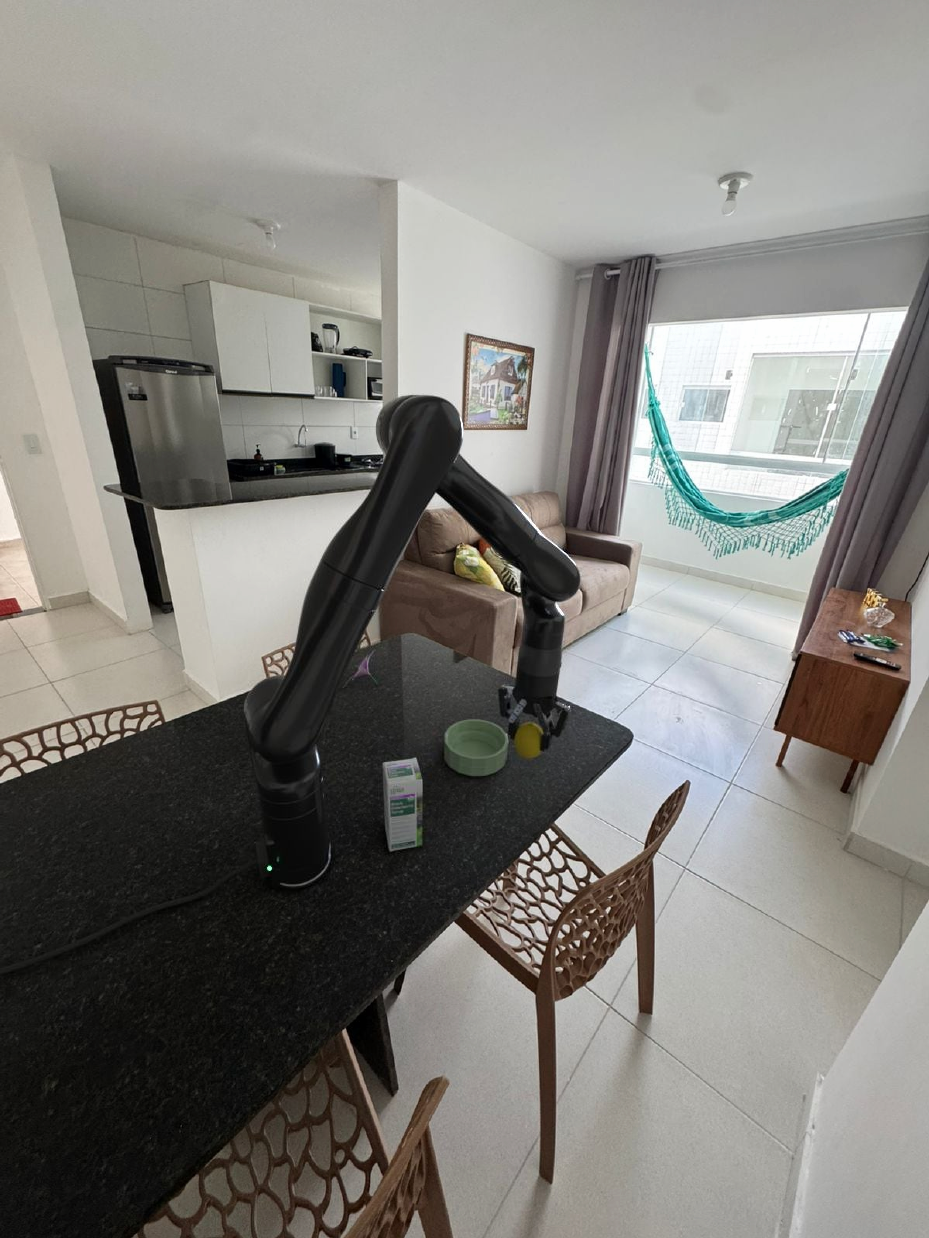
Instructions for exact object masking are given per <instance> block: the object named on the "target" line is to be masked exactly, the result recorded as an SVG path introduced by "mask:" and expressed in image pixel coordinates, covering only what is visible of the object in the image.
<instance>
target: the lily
mask: <svg viewBox="0 0 929 1238" xmlns="http://www.w3.org/2000/svg"><path fill="white" fill-rule="evenodd" d="M374 652H375V650H373V651H372V652H371V654H369V655H368V654H367V655H366V656H365V657H364V658H363V659H362V661H361V662H360V663H359V665H358V664H357V663H356V664H354V666H355V667H356V668H358V669H357V672H356V673H355V674H353V675H352V676H350V678H349V679H348V680H347V681H346V683H345V684H344V686H343V687H342V688H343V689H344V687H345V686H347V684H348V683H349V681H350V680H352V681H353V680H354V679H355V678H356V677H360V676H365V675H367V676H369V677H370V678H371V679H372V680H373V682H374V683H375V684H376V686H379V684H378V682H377V680H376V679H375V678H374V677H373V675H371V673H370V672H369V660H370V658H371V656H372V655H373V653H374Z"/></svg>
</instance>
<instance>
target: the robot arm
mask: <svg viewBox="0 0 929 1238" xmlns="http://www.w3.org/2000/svg"><path fill="white" fill-rule="evenodd" d="M375 436H376V441H377V444H378V446H379V448H380V450H381V452H382V453H383V455H384V458H383V461H382V464H381V466H380V469H379V470H378V473H377V475H376V478H375V480H374V482H373V484H372V487H371V489H370V491H369V492H368V494H367V496H366V497H365V498H364V500H363V501H362V502H361V504H360V505H359V506H358V507H357V509H356V510H355V511H354V512H353V513H352V514H351V515H350V517H349V518H348V519H347V520H346V521H345V523H343V525H341V527H340V528H339V530H338V531H337V532H336V533H335V535H334V536H333V537H332V539H331V540H330V541H329V543H328V545H327V546H326V548H325V550H324V552H323V554H322V555H321V557H320V559H319V561H318V565H317V566H316V568H315V570H314V573H313V575H312V576H311V579H310V581H309V584H308V586H307V589H306V592H305V595H304V598H303V603H302V606H301V610H300V615H299V621H298V625H297V626H298V628H297V633H296V638H295V645H294V649H293V653H292V656H291V659H290V662H289V665H288V668H287V670H286V672H285V674H277V675H271V676H268V677H266V678H263V679H262V680H260V681H259V682H257V683H256V684H255V685H254V686H253V687H252V688H251V689H250V691H249V692H248V694H247V696H246V697H245V700H244V705H243V719H244V725H245V731H246V736H247V741H248V747H249V754H250V761H251V766H252V770H253V775H254V780H255V785H256V790H257V796H258V803H259V809H260V815H261V823H262V830H263V838H264V839H263V840H261V841H257V842H255V850H256V858H254V859H253V860H251V861H250V860H249V862H247V863H244V864H243V865H240V866H239V867H237V868H235V869H233V870H231V871H229V872H228V873H226V874H225V875H223V876H222V877H221V878H219V879H218V880H217V881H216V882H215V883H213V885H211V886H209V887H207V888H206V889H203V890H201V891H199V892H196V893H193V894H191V895H187V896H184V897H180V898H176V899H173V900H169V901H165V902H162V903H158V904H156V905H152V906H149V907H148V908H147V907H146V908H145V909H142V910H140V911H137V912H135V913H133V914H130V915H128V916H125V918H122V919H120V920H117V921H116V922H114V923H112V924H110V925H108V926H106V927H104V928H102V929H100V930H98V931H96V932H93V933H92V934H89V935H87V936H85V937H83V938H81V939H78V940H76V941H73V942H71V943H69V944H66V945H63V946H61V947H58V948H56V949H54V950H51V951H48V952H46V953H43V954H40V955H38V956H35V957H32V958H29V959H26V960H23V961H20V962H17V963H13V964H10V965H6V966H3V967H0V976H2V975H5V974H8V973H12V972H15V971H18V970H21V969H24V968H27V967H30V966H33V965H36V964H38V963H41V962H44V961H47V960H49V959H52V958H55V957H57V956H59V955H63V954H64V953H67V952H69V951H73V950H75V949H76V948H79V947H81V946H84V945H86V944H88V943H90V942H92V941H94V940H97V939H99V938H101V937H103V936H105V935H107V934H109V933H111V932H113V931H115V930H117V929H119V928H121V927H123V926H124V925H127V924H129V923H131V922H133V921H135V920H137V919H140V918H142V917H145V916H147V915H149V914H152V913H155V912H159V911H161V910H164V909H168V908H172V907H175V906H179V905H183V904H186V903H190V902H192V901H195V900H199V899H200V898H203V897H205V896H207V895H210V894H211V893H213V892H215V891H216V890H217V889H219V888H220V887H221V886H222V885H223V884H225V883H226V882H227V881H229V880H230V879H232V878H233V877H235V876H236V875H238V874H240V873H242V872H245V871H246V870H248V869H250V868H252V867H255V866H256V865H258V866H257V867H258V870H259V876H260V877H259V878H260V879H264V878H266V877H270V881H271V887H272V890H277V889H283V890H289V891H297V890H302V889H305V888H308V887H310V886H313V885H314V884H316V883H317V882H319V881H320V880H321V879H322V878H323V877H324V876H325V875H326V874H327V872H328V871H329V868H330V865H331V862H332V861H331V848H332V847H331V845H330V842H329V833H328V832H329V831H328V821H327V820H328V818H327V809H326V798H325V786H324V785H325V784H324V775H323V764H322V760H321V755H320V751H319V747H318V741H319V739H320V737H321V735H322V733H323V732H324V729H325V726H326V723H327V721H328V718H329V715H330V712H331V710H332V706H333V704H334V701H335V698H336V696H337V693H338V690H339V687H340V686H341V683H342V680H343V678H344V675H345V673H346V672H347V669H348V667H349V665H350V663H351V661H352V659H353V657H354V655H355V653H356V652H357V649H358V647H359V645H360V643H361V641H362V638H363V637H364V634H365V633H366V631H367V628H368V626H369V624H370V622H371V621H372V619H373V617H374V615H375V614H376V612H377V610H378V608H379V606H380V604H381V602H382V599H383V598H384V595H385V593H386V591H387V589H388V587H389V585H390V583H391V580H392V578H393V576H394V574H395V571H396V570H397V567H398V566H399V563H400V561H401V559H402V557H403V555H404V553H405V551H406V549H407V548H408V545H409V544H410V541H411V538H412V537H413V534H414V532H415V530H416V528H417V526H418V524H419V522H420V520H421V518H422V516H423V515H424V513H425V511H426V510H427V508H428V506H429V504H430V503H431V501H432V500H433V498H434V497H435V495H436V494H437V495H438V496H439V497H440V498H441V499H442V500H444V502H446V503H447V504H448V505H449V506H450V507H451V508H452V509H453V510H454V511H455V512H456V513H457V514H458V515H459V516H460V517H461V518H462V519H463V520H465V522H466V523H467V524H468V525H469V526H470V527H471V528H472V529H473V530H474V531H475V532H476V533H477V534H478V535H479V536H480V537H481V538H482V539H483V540H484V541H485V542H486V543H487V544H488V545H489V546H490V548H491V549H493V550H494V552H495V553H496V554H497V555H499V557H500V558H502V559H503V560H504V561H505V562H506V563H507V564H509V565H510V566H512V567H513V568H515V569H516V570H518V571H519V590H520V598H521V607H522V612H523V621H522V622H523V623H522V631H521V641H520V644H519V648H518V654H517V663H516V673H515V682H514V686H510V684H509V683H508V682H505V683H504V684H502V685H501V686H500V687H499V688H498V689H497V694H498V695H497V696H498V705H499V707H498V708H499V715H500V717H502V718H506V719H507V720H508V730H507V735H508V736H509V739H510V740H513V741H514V738H515V734H516V731H517V729H518V728H519V727H520V722H521V719H520V716H521V715H522V714H526V715H531V716H532V717H534V718H537V720H538V723H539V724H538V725H539V726H541V730H542V732H543V735H542V741H541V748H540V750H541V752H544V753H545V751H549V748H550V747H551V745H552V742H553V736H554V737H556V738H558V737H560V736H561V735H562V733H563V732H564V731H565V729H566V726H567V724H568V721H569V718H570V716H571V713H572V710H573V705H572V704H570V703H567V704H564V703H562V702H560V701H559V699H558V695H557V693H558V686H559V681H560V680H559V679H560V674H561V673H560V672H561V669H562V664H563V662H562V659H563V643H564V636H565V635H564V634H565V629H566V616H565V613H564V612H563V611H562V609H561V608H560V607H559V605H558V604H557V603H563V602H568V601H569V600H571V599H573V598H574V597H575V596H576V595H577V593H578V592H579V590H580V588H581V583H582V576H581V572H580V570H579V568H578V566H577V564H576V563H575V562H574V560H573V559H572V558H571V557H569V555H568V554H567V553H566V552H564V551H563V550H562V549H561V548H560V547H558V546H557V545H556V544H555V543H554V542H553V541H551V540H550V539H549V538H547V537H546V536H545V535H544V534H543V533H542V532H541V530H540V529H539V527H538V526H537V525H536V524H535V523H534V521H532V519H530V518H529V516H528V515H527V514H526V513H525V512H524V510H522V509H521V507H520V506H519V505H518V504H517V503H516V502H515V501H514V500H513V499H512V498H511V497H509V496H508V495H507V494H505V492H503V491H502V490H501V489H499V488H498V487H497V486H495V484H493V483H492V482H491V481H489V480H488V479H487V478H485V477H484V476H483V475H482V474H480V472H478V470H476V468H474V467H473V466H472V465H471V464H470V463H469V462H468V461H467V460H466V459H465V458H464V457H463V456H462V454H461V453H460V452H461V449H462V445H463V441H464V425H463V420H462V416H461V415H460V412H459V410H458V409H457V407H456V406H455V405H454V404H453V403H452V402H451V401H449V400H448V399H446V398H444V397H441V396H439V395H438V396H437V395H433V394H407V395H401V396H397V397H394V398H393V399H391V400H389V401H388V402H386V403H385V405H384V406H383V407H382V408H381V409H380V411H379V413H378V415H377V418H376V422H375ZM511 696H513V698H514V700H515V702H516V704H517V705H516V707H515V708H514V709H512V697H511ZM554 709H555V710H556V714H557V717H558V719H557V723H556V724H555V723H554V720H553V716H554V715H553V710H554Z"/></svg>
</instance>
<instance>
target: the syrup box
mask: <svg viewBox="0 0 929 1238" xmlns="http://www.w3.org/2000/svg"><path fill="white" fill-rule="evenodd" d="M382 785H383V787H382V789H383V808H384V809H383V811H384V828H385V829H384V830H385V834H386V841H387V848H388V851H389V852H390V853H391V852H394V851H399V850H404V849H405V850H406V849H410V848H411V849H412V848H416V847H422V846H423V778H422V773H421V770H420V766H419V763H418V760H417V757H412V758H408V759H397V760H392V761H385V762H382Z"/></svg>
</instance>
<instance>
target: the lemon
mask: <svg viewBox="0 0 929 1238" xmlns="http://www.w3.org/2000/svg"><path fill="white" fill-rule="evenodd" d="M543 733H544V732H543V729H542V727H540V725H539V724H536V723H535V722H531V721H528V722H524V723H522V724H520V725H519V728H518V729H517V731H516V734H515V738H514V740H513V741H514V742H513V745H514V749H515V751H516V752H517V755H519V756H520V757H521V758H524V759H526V760H528V759H531V760H532V759H534V758H536V757H538V756H539V755H540V754H541V753H542V751H541V750H540V748H541V741H542V735H543Z"/></svg>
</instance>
